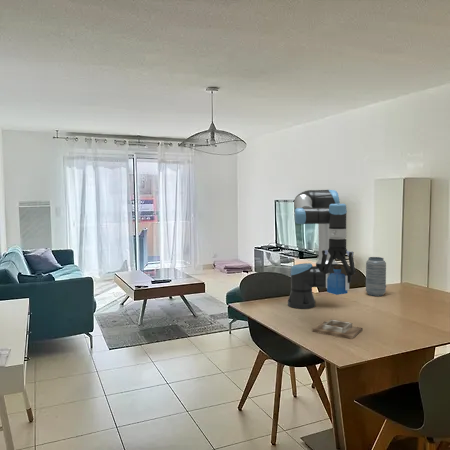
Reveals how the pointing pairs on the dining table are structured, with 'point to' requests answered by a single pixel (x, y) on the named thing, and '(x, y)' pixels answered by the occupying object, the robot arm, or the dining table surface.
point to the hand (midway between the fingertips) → (337, 288)
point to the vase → (376, 276)
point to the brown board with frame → (338, 329)
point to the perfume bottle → (336, 282)
